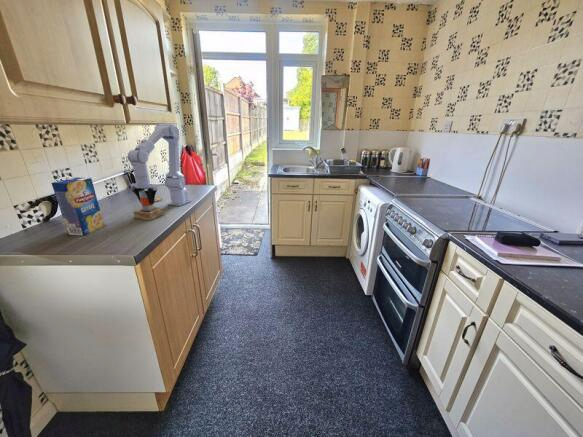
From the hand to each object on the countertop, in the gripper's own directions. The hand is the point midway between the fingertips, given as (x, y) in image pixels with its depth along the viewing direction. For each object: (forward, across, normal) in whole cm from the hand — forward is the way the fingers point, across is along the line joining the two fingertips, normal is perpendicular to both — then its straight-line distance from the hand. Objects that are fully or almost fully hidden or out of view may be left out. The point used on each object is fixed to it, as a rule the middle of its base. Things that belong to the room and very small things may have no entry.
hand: (147, 203), depth 122 cm
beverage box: (+7, -12, -23) cm, 26 cm away
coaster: (+7, -20, +22) cm, 31 cm away
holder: (+7, 0, 0) cm, 7 cm away
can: (+5, 0, 0) cm, 5 cm away
